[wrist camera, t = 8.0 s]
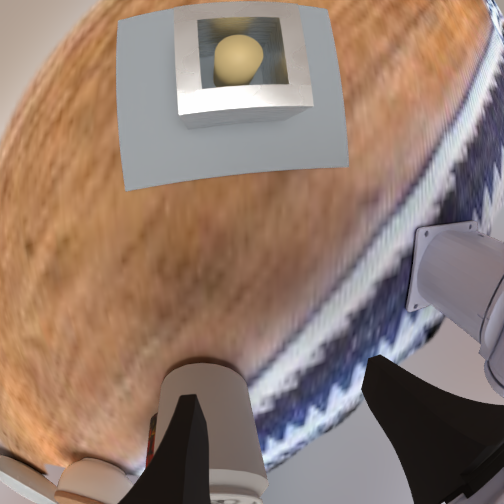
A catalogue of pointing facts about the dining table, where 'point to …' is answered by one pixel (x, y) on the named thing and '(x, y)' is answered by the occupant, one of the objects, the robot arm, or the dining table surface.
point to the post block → (225, 136)
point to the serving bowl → (26, 481)
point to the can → (220, 429)
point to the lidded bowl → (92, 483)
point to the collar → (273, 64)
